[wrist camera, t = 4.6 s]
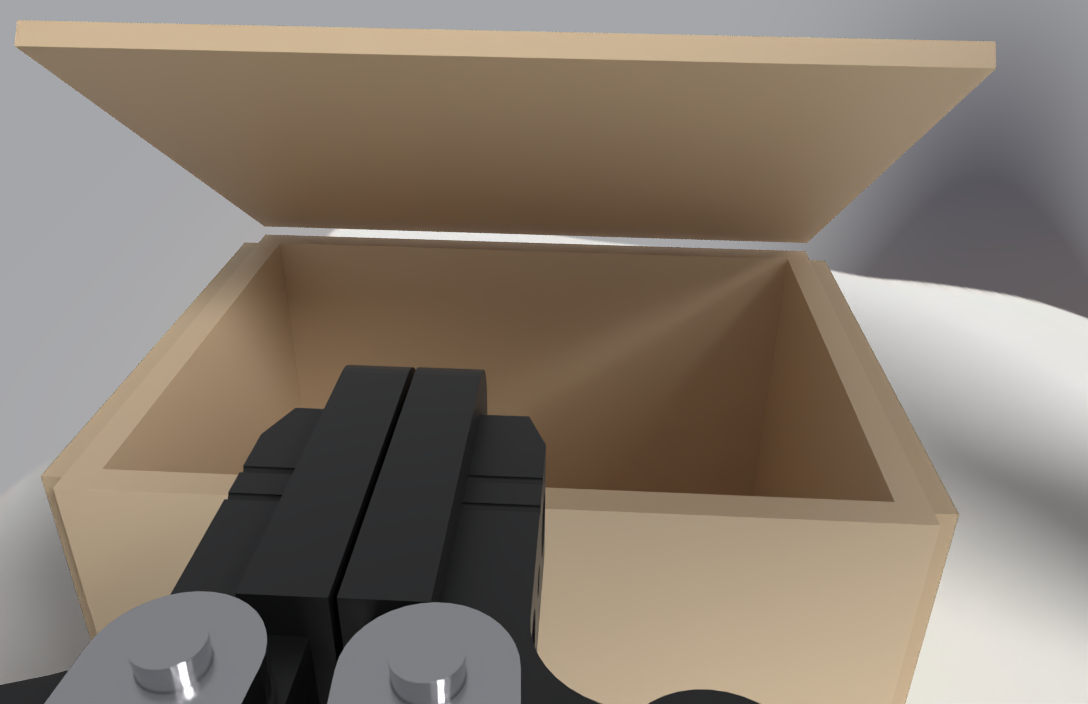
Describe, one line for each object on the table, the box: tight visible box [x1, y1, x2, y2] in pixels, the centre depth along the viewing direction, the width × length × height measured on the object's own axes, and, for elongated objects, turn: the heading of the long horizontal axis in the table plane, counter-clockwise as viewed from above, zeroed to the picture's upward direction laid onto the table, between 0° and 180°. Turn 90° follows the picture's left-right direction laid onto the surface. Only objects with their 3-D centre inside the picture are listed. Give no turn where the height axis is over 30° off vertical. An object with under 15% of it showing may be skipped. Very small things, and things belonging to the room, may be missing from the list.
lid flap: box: [15, 20, 996, 243], centre depth 24 cm, size 18×14×1 cm
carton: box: [41, 235, 959, 704], centre depth 28 cm, size 19×14×12 cm
